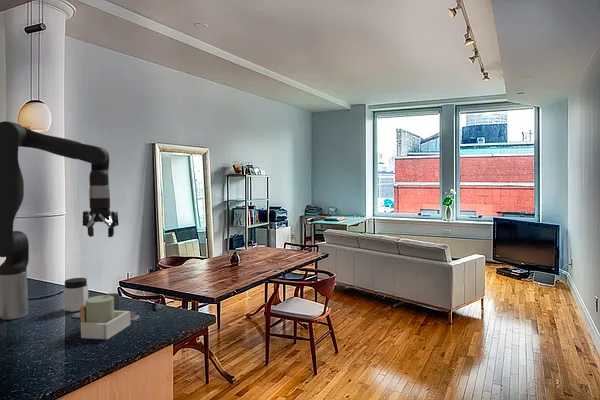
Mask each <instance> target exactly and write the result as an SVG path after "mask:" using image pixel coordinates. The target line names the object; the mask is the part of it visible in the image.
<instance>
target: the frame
mask: <svg viewBox="0 0 600 400" xmlns="http://www.w3.org/2000/svg"><path fill="white" fill-rule="evenodd" d="M130 312H131V311H130V310H119V311H115V310H114V319H112V320H111V321H109V322H107V323H88V322H82V323H81V322H80V338H81V339H92V340H93V339H95V340H109V339H110V338H112V337H113V336H115V335H117V334H118V333H120V332H121V331H123V330H124V329H126V328H127V327H129V326H130V325H131V320H130Z"/></svg>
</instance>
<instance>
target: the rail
mask: <svg viewBox="0 0 600 400" xmlns="http://www.w3.org/2000/svg"><path fill="white" fill-rule="evenodd" d="M72 318H76V319H80V311H77V312H76V313H74V314H72ZM138 319H140V314H137V315H136V316H130V321H132V322H135V321H137V320H138Z"/></svg>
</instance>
